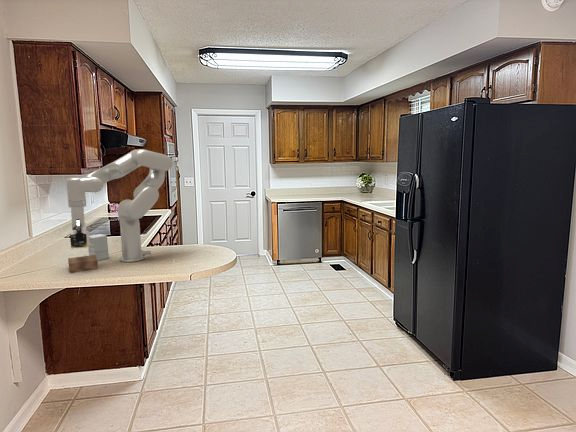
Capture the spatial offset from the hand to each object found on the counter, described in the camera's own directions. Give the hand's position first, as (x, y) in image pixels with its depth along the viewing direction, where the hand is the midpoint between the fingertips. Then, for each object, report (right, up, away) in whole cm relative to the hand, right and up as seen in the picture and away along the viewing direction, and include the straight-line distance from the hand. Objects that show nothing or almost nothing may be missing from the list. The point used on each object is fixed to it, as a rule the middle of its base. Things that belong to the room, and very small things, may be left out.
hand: (80, 239), depth 195 cm
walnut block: (0, -14, +2) cm, 15 cm away
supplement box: (-1, -12, +20) cm, 24 cm away
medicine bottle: (0, -4, +1) cm, 4 cm away
